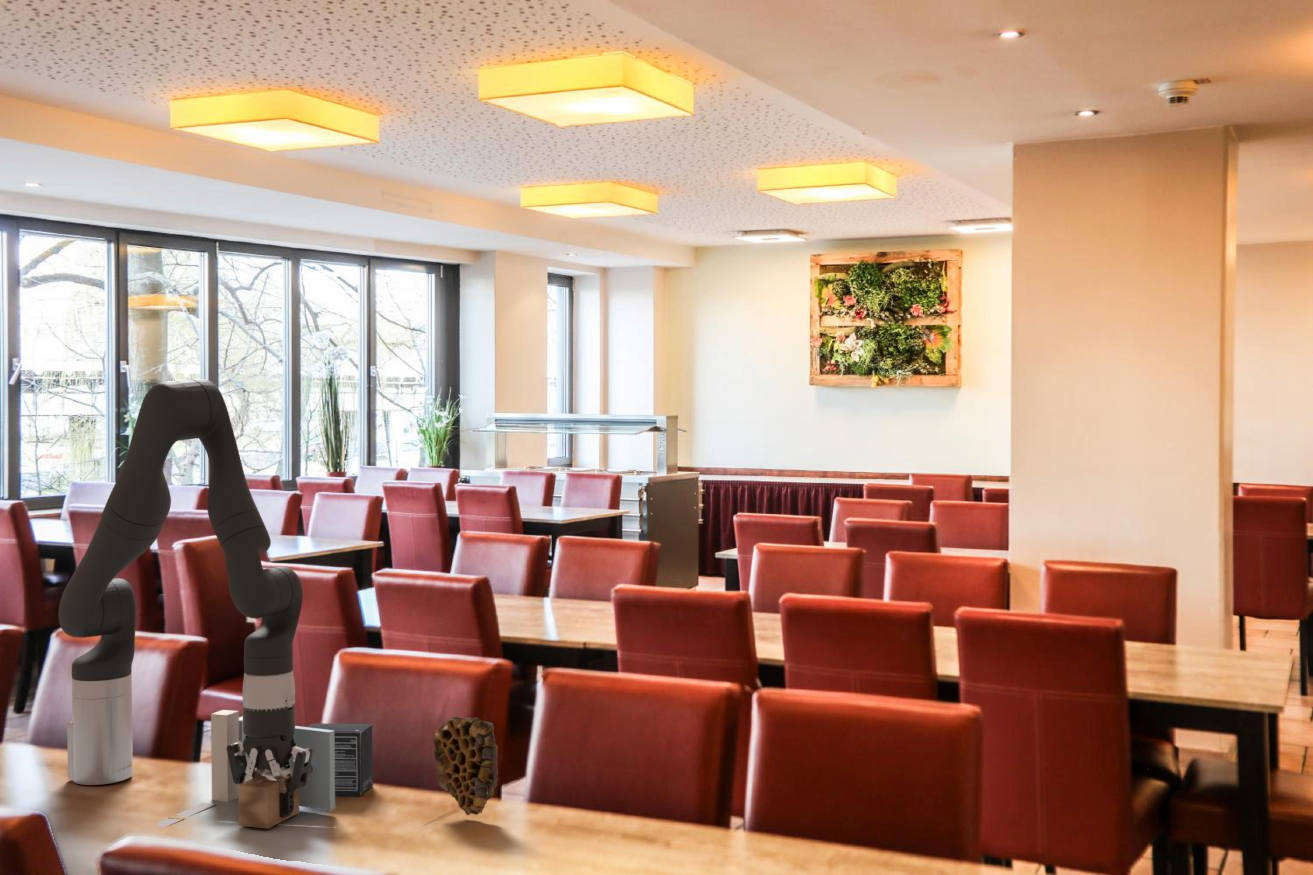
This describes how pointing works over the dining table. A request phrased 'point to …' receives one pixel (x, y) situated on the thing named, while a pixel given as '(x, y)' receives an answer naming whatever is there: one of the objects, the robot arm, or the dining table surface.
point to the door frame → (217, 763)
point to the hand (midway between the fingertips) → (269, 813)
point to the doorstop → (262, 802)
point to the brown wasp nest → (467, 761)
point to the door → (314, 766)
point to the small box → (351, 757)
